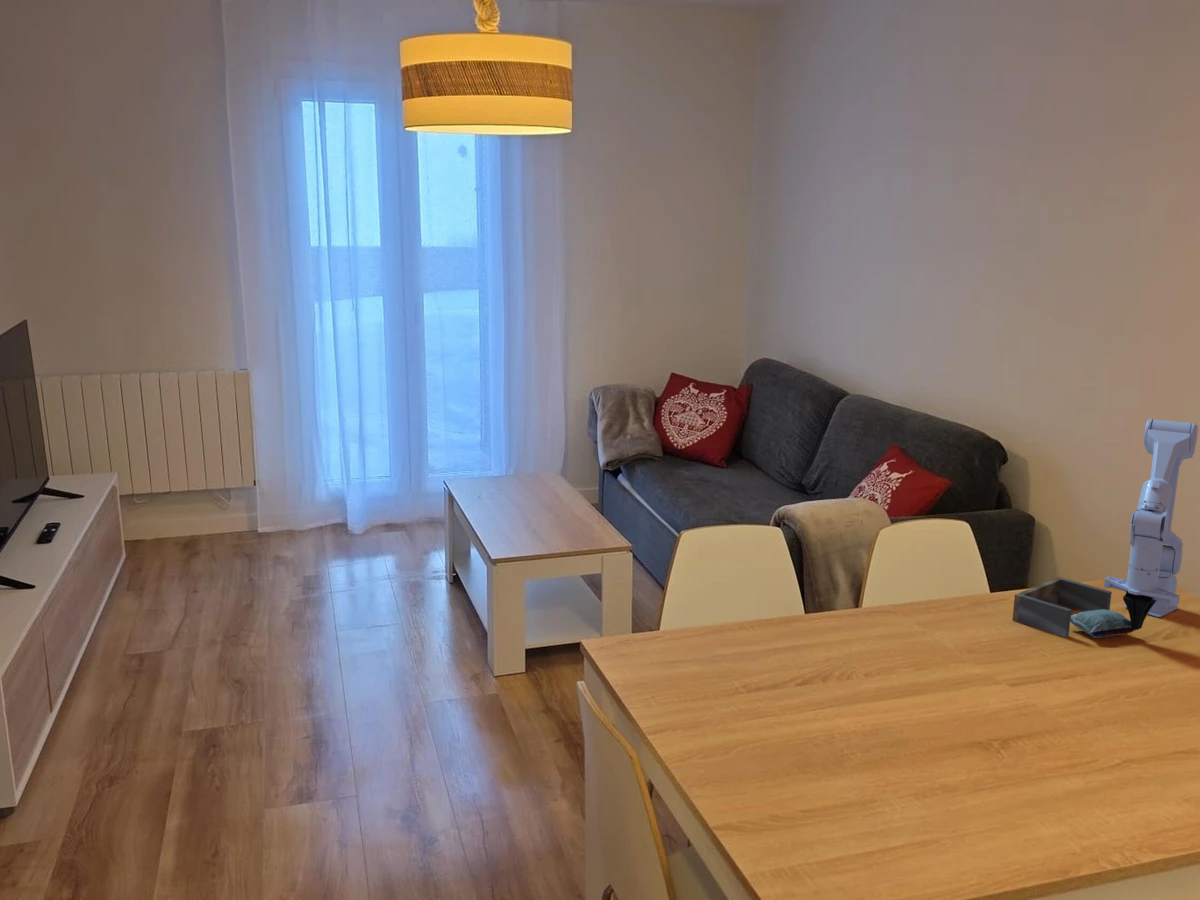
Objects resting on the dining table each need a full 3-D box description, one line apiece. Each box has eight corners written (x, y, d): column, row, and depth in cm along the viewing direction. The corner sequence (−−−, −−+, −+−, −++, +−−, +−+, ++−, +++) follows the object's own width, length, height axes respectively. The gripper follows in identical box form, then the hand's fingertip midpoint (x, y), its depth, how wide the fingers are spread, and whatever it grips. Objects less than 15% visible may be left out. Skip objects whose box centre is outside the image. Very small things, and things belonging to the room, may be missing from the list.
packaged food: (1062, 627, 227) (1065, 606, 226) (1109, 622, 230) (1112, 601, 228) (1090, 643, 219) (1093, 622, 217) (1138, 638, 221) (1141, 617, 220)
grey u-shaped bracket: (1056, 601, 242) (1059, 576, 241) (1108, 617, 233) (1111, 591, 232) (1012, 620, 231) (1014, 594, 230) (1065, 637, 222) (1068, 611, 220)
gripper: (1100, 561, 219) (1093, 622, 222) (1171, 580, 208) (1163, 643, 211) (1116, 554, 224) (1109, 614, 227) (1187, 572, 213) (1178, 635, 216)
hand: (1136, 628), depth 219 cm, fingers closed
